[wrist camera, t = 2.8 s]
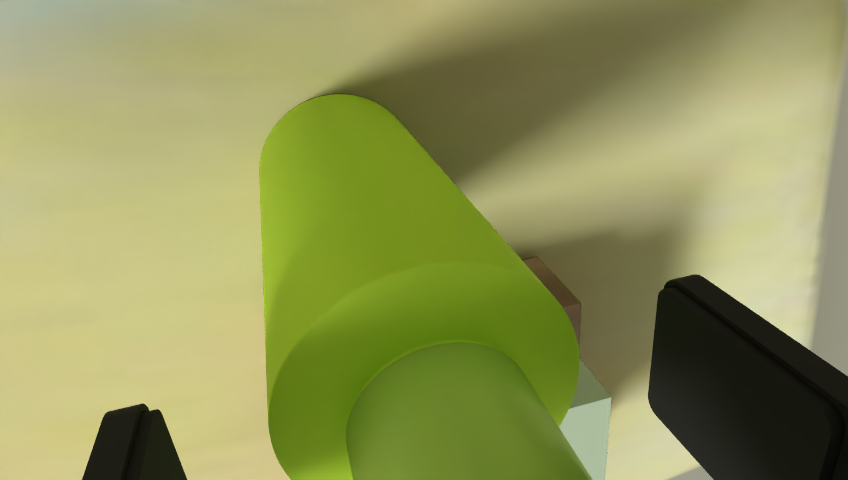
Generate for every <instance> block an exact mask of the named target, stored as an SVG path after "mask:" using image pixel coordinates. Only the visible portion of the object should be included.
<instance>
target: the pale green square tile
mask: <svg viewBox="0 0 848 480" xmlns="http://www.w3.org/2000/svg"><path fill="white" fill-rule="evenodd" d="M611 398H612V397H611V396H610V395H609V394H608V392H607V391H606V390H605V389H604V387H603V386H602V385H601V384H600V382H599V381H598V380H597V379H596V378H595V376H594V375H593V374H592V373H591V371H590V370H589V369H588V368H587V366H586V365H585V364H584V363H583V362H582V360H581V359H580V358H579V375H578V382H577V386H576V390H575V394H574V397H573V400H572V403H571V405H570V408H569V410H568V412H567V414H566V416H565V418H564V420H563V422H562V423H561V425H560V427H559V428H560V430H561V432H562V433H563V435H564V436H565V438H566V439H567V441H568V442H569V444H570V445H571V447H572V448H573V450H574V452H575V453H576V455H577V456H578V458H579V459H580V461H581V462H582V464H583V465H584V467H585V469H586V470H587V472H588V473H589V475H590V476H591V478H592V479H593V480H605V472H606V460H607V448H608V435H609V423H610V410H611Z"/></svg>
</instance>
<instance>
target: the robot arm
mask: <svg viewBox="0 0 848 480" xmlns="http://www.w3.org/2000/svg"><path fill="white" fill-rule="evenodd" d="M648 399H649V404H650V406H651V408H652V410H653V412H654V413H655V415H656V416H657V417H658V418H659V419H660V420H661V421H662V423H663V424H664V425H665V426H666V427H667V428H668V429H669V430H670V431H671V433H672V434H673V435H674V436H675V437H676V438H677V439H678V440H679V441H680V443H681V444H682V445H683V446H684V447H685V448H686V449H687V450H688V451H689V453H690V454H691V455H692V456H693V457H694V458H695V459H696V460H697V461H698V463H699V464H700V465H701V466H702V467H703V468H704V469H705V470H706V471H707V473H708V474H709V475H710V476H711V477H712V478H713V479H714V480H848V376H846V375H845V374H843V373H842V372H840V371H839V370H838V369H836V368H835V367H833V366H832V365H830V364H829V363H827V362H826V361H824V360H823V359H822V358H820V357H819V356H817V355H816V354H814V353H813V352H811V351H810V350H808V349H807V348H806V347H804V346H803V345H801V344H800V343H798V342H797V341H795V340H794V339H792V338H791V337H790V336H788V335H787V334H785V333H784V332H782V331H781V330H779V329H778V328H776V327H775V326H774V325H772V324H771V323H769V322H768V321H766V320H765V319H763V318H762V317H760V316H759V315H758V314H756V313H755V312H753V311H752V310H750V309H749V308H747V307H746V306H744V305H743V304H742V303H740V302H739V301H737V300H736V299H734V298H733V297H731V296H730V295H728V294H727V293H726V292H724V291H723V290H721V289H720V288H718V287H717V286H715V285H714V284H712V283H711V282H710V281H708V280H707V279H705V278H704V277H702V276H700V275H690V276H686V277H682V278H677V279H673V280H670V281H668V282H667V283H666V284H665V286H664V289H663V290H661V291H660V292H659V295H658V301H657V311H656V321H655V331H654V341H653V351H652V361H651V371H650V381H649V391H648ZM82 480H187V478H186V475H185V473H184V470H183V468H182V465H181V462H180V460H179V457H178V455H177V452H176V449H175V447H174V444H173V441H172V439H171V436H170V434H169V431H168V428H167V426H166V423H165V421H164V418H163V415H162V413H161V412H160V410H158V409H156V410H152V411H149V409H148V407H147V406H146V405H145V404H139V405H135V406H130V407H126V408H122V409H118V410H113V411H109V412H107V413H106V414H105V415H104V417H103V419H102V422H101V425H100V428H99V431H98V434H97V437H96V440H95V443H94V446H93V449H92V452H91V455H90V458H89V461H88V464H87V467H86V470H85V473H84V476H83V479H82Z"/></svg>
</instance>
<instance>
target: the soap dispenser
mask: <svg viewBox="0 0 848 480" xmlns="http://www.w3.org/2000/svg"><path fill="white" fill-rule="evenodd" d="M259 175H260V204H261V232H262V261H263V289H264V317H265V346H266V374H267V403H268V425H269V433H270V438H271V443H272V446H273V449H274V452H275V454H276V457H277V459H278V461H279V463H280V465H281V466H282V468H283V469H284V471H285V472H286V474H287V475H288V476H289V478H290V479H291V480H593V479H592V478H591V476H590V475H589V473H588V472H587V470H586V469H585V467H584V465H583V464H582V462H581V461H580V459H579V458H578V456H577V455H576V453H575V452H574V450H573V448H572V447H571V445H570V444H569V442H568V441H567V439H566V438H565V436H564V435H563V433H562V432H561V430H560V428H559V427H560V425H561V423H562V422H563V420H564V418H565V416H566V414H567V412H568V410H569V408H570V405H571V403H572V400H573V397H574V394H575V390H576V386H577V382H578V375H579V348H578V342H577V338H576V334H575V331H574V328H573V326H572V323H571V321H570V319H569V317H568V315H567V313H566V312H565V310H564V309H563V307H562V306H561V304H560V303H559V302H558V301H557V299H556V298H555V297H554V296H553V295H552V294H551V293H550V291H549V290H548V289H547V288H546V287H545V286H544V285H543V283H542V282H541V281H540V280H539V279H538V278H537V277H536V276H535V274H534V273H533V272H532V271H531V270H530V269H529V268H528V266H527V265H526V264H525V263H524V262H523V261H522V260H521V259H520V257H519V256H518V255H517V254H516V253H515V252H514V251H513V249H512V248H511V247H510V246H509V245H508V244H507V243H506V242H505V240H504V239H503V238H502V237H501V236H500V235H499V234H498V232H497V231H496V230H495V229H494V228H493V227H492V226H491V225H490V223H489V222H488V221H487V220H486V219H485V218H484V217H483V215H482V214H481V213H480V212H479V211H478V210H477V209H476V208H475V206H474V205H473V204H472V203H471V202H470V201H469V200H468V198H467V197H466V196H465V195H464V194H463V193H462V192H461V191H460V189H459V188H458V187H457V186H456V185H455V184H454V183H453V181H452V180H451V179H450V178H449V177H448V176H447V175H446V174H445V172H444V171H443V170H442V169H441V168H440V167H439V166H438V164H437V163H436V162H435V161H434V160H433V159H432V158H431V157H430V155H429V154H428V153H427V152H426V151H425V150H424V149H423V147H422V146H421V145H420V144H419V143H418V142H417V141H416V140H415V138H414V137H413V136H412V135H411V134H410V133H409V132H408V130H407V129H406V128H405V127H404V126H403V125H402V124H401V123H400V121H399V120H398V119H397V118H396V117H395V116H394V115H393V114H392V113H391V112H389V111H388V110H387V109H385V108H384V107H382V106H381V105H379V104H377V103H375V102H373V101H371V100H368V99H366V98H362V97H359V96H354V95H346V94H333V95H325V96H321V97H317V98H314V99H311V100H308V101H306V102H304V103H302V104H300V105H298V106H296V107H295V108H293V109H292V110H291V111H289V112H288V113H287V114H286V115H284V116H283V117H282V118H281V119H280V120H279V122H278V123H277V124H276V125H275V126H274V128H273V129H272V131H271V132H270V134H269V136H268V138H267V140H266V142H265V144H264V147H263V150H262V154H261V158H260V167H259Z"/></svg>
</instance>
